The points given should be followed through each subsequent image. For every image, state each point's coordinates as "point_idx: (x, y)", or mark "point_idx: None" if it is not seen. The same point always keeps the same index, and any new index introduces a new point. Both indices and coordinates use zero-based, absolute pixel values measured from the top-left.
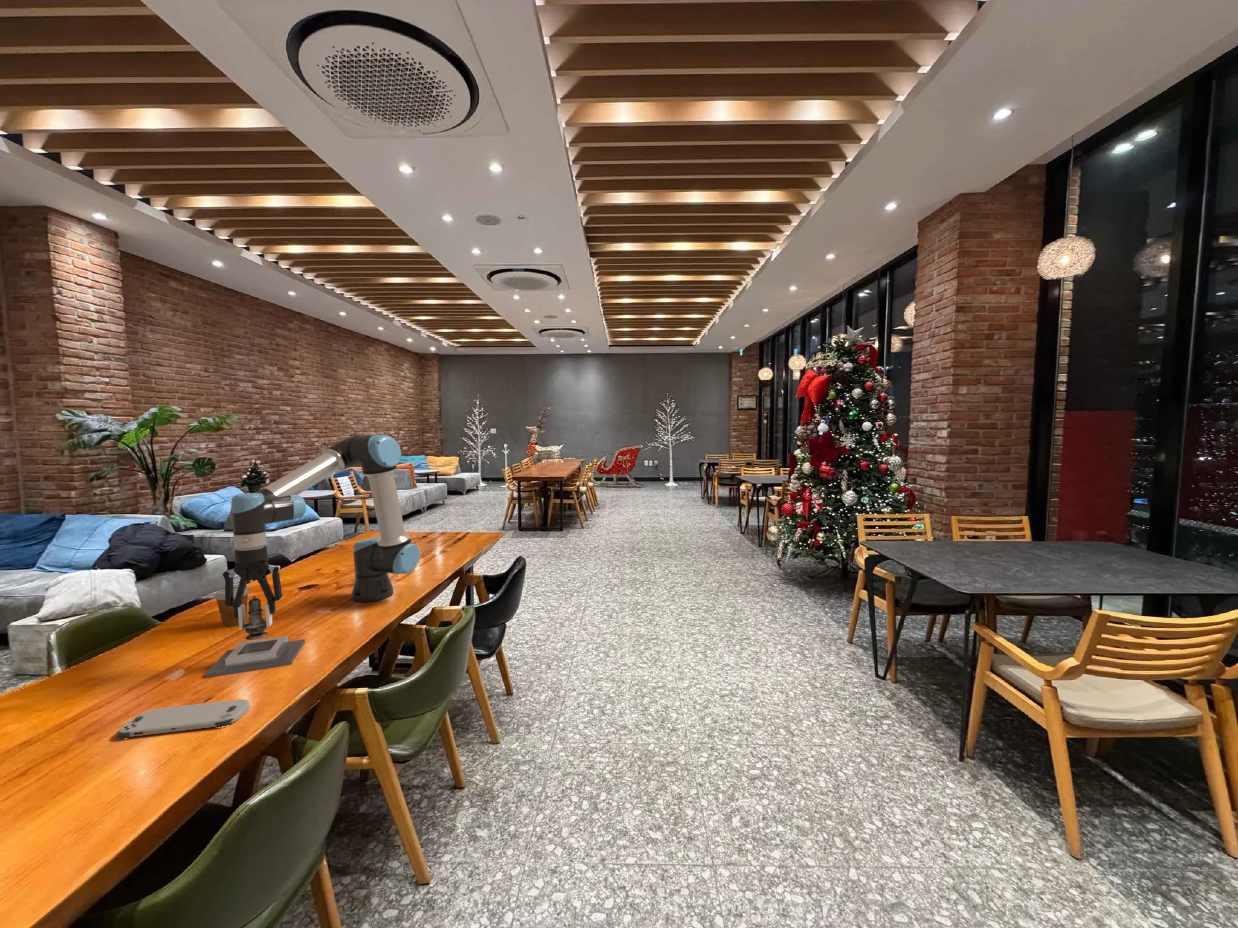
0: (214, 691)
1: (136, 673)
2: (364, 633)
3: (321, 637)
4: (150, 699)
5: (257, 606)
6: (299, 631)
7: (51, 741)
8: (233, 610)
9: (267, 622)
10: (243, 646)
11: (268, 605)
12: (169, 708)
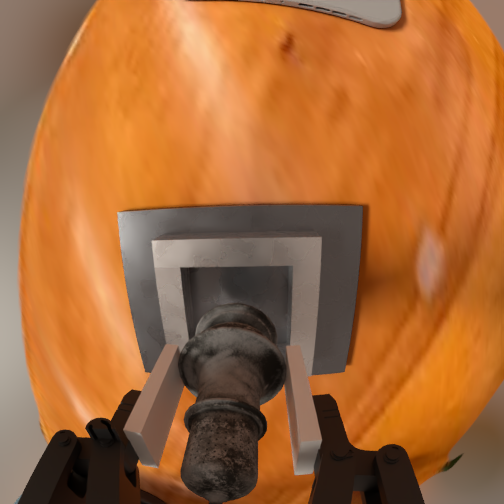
0: (292, 86)
1: (485, 302)
2: (40, 348)
3: (120, 377)
4: (432, 121)
5: (194, 438)
6: None
7: (480, 42)
8: (356, 498)
9: (167, 356)
10: (292, 340)
11: (128, 425)
12: (348, 4)
